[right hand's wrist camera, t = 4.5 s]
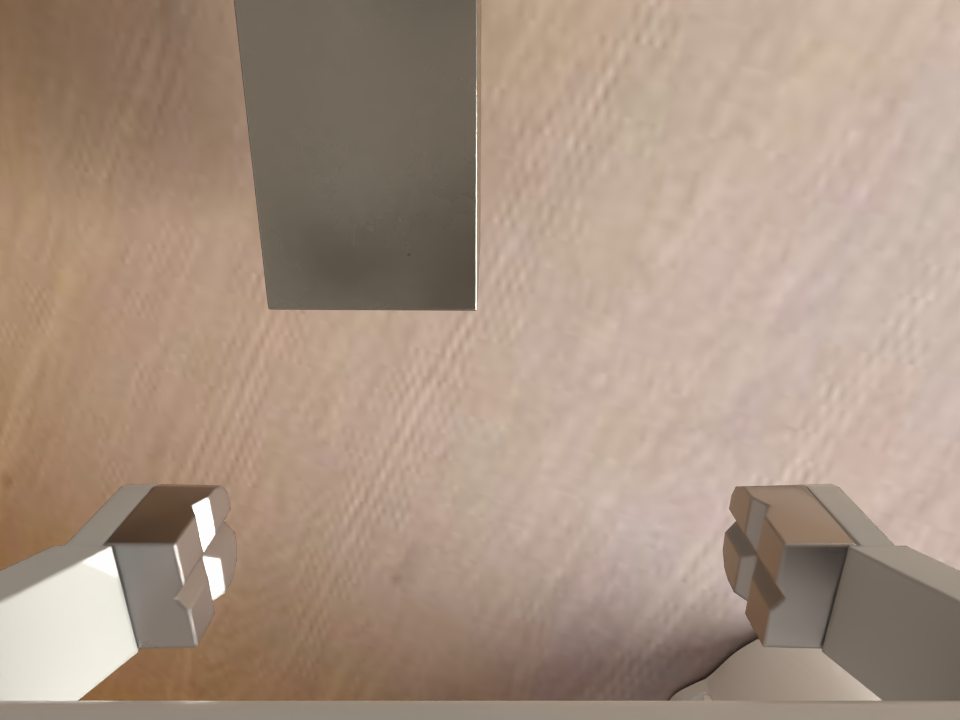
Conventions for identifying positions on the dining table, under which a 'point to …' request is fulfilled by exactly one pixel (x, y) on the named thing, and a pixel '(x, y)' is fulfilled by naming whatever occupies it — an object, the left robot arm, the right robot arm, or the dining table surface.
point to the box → (365, 150)
